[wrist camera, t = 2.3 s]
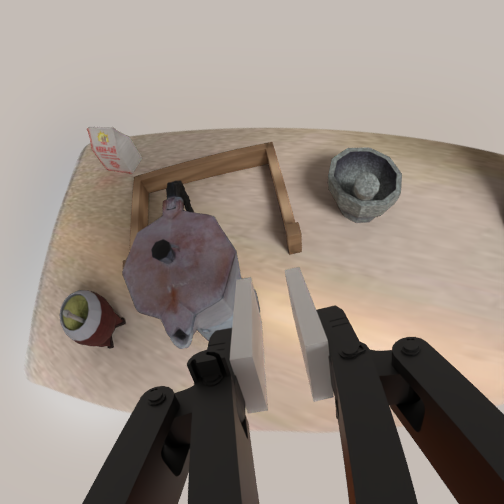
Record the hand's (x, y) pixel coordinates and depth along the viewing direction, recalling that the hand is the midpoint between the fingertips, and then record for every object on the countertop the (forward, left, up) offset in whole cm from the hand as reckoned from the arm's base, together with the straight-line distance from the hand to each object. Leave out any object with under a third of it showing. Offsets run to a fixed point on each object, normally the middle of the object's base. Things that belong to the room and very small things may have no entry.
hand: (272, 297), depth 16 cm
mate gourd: (+22, +10, -22) cm, 33 cm away
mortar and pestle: (0, -22, -22) cm, 31 cm away
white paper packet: (+41, -14, -22) cm, 49 cm away
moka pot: (+10, -1, -22) cm, 24 cm away
